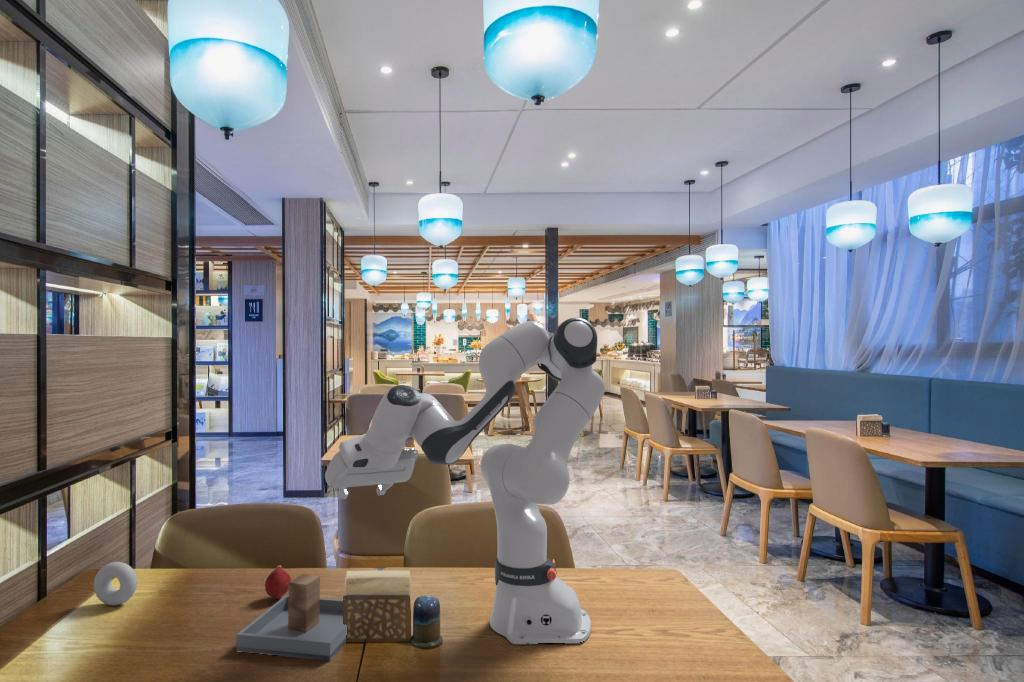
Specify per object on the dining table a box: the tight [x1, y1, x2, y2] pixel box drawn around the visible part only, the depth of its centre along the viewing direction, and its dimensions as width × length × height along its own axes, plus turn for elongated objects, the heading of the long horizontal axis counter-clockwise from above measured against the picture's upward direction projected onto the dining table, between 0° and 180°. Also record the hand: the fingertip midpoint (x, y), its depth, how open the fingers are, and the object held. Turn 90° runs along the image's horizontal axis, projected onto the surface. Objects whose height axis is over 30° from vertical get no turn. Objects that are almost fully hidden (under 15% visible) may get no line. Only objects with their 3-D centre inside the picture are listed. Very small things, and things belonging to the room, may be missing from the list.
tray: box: [235, 594, 347, 662], centre depth 118 cm, size 20×18×4 cm
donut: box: [93, 561, 138, 607], centre depth 130 cm, size 10×4×10 cm, turn 85°
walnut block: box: [288, 573, 321, 632], centre depth 119 cm, size 4×4×10 cm
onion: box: [264, 565, 292, 600], centre depth 134 cm, size 6×6×8 cm
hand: (361, 495), depth 128 cm, fingers open, 8 cm apart
